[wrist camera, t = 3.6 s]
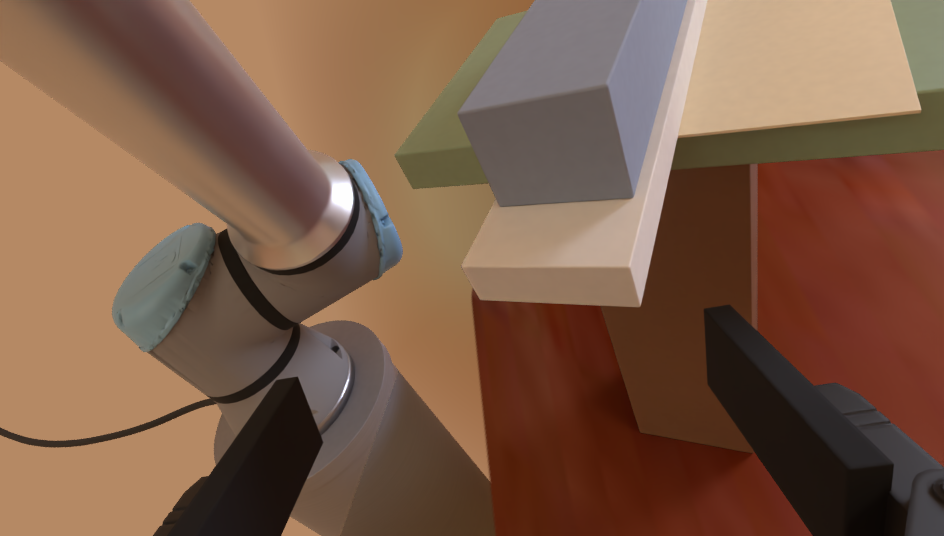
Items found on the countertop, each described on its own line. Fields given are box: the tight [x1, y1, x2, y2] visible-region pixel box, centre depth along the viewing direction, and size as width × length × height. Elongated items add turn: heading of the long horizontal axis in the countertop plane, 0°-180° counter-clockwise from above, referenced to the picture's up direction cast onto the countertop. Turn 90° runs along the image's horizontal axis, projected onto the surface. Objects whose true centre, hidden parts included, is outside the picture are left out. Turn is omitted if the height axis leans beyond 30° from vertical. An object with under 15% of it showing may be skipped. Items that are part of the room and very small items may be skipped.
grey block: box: [457, 0, 707, 307], centre depth 18 cm, size 22×4×4 cm, turn 157°
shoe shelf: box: [395, 0, 944, 453], centre depth 31 cm, size 15×20×30 cm
